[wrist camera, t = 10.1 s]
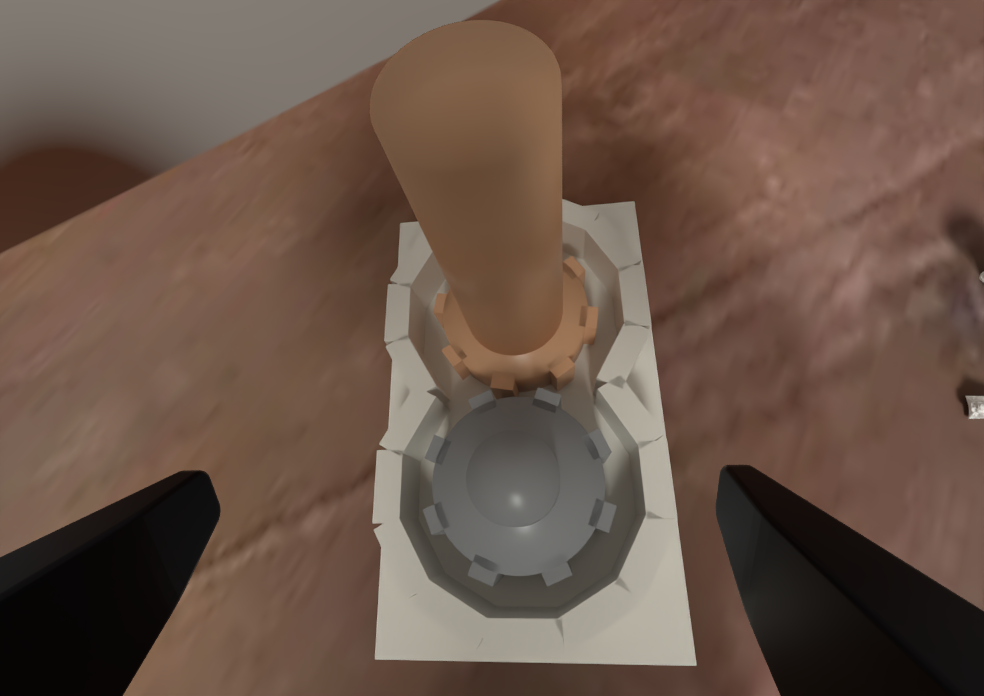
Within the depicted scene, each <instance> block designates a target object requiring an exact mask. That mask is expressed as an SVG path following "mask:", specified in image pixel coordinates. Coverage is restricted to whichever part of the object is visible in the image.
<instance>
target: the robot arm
mask: <svg viewBox="0 0 984 696" xmlns="http://www.w3.org/2000/svg"><path fill="white" fill-rule="evenodd" d="M716 516H717V520H718V524H719V527H720V531H721V534H722V537H723V541H724V544H725V547H726V551H727V554H728V557H729V561H730V564H731V567H732V570H733V574H734V577H735V580H736V584H737V587H738V590H739V594H740V597H741V600H742V603H743V606H744V609H745V612H746V614H747V617H748V619H749V622H750V625H751V627H752V629H753V632H754V634H755V636H756V639H757V641H758V644H759V646H760V648H761V651H762V653H763V655H764V658H765V660H766V662H767V665H768V667H769V669H770V672H771V674H772V677H773V679H774V681H775V684H776V686H777V688H778V691H779V693H780V695H781V696H984V611H982V610H981V609H979V608H978V607H976V606H974V605H973V604H971V603H970V602H968V601H966V600H965V599H963V598H962V597H960V596H958V595H957V594H955V593H954V592H952V591H950V590H949V589H947V588H946V587H944V586H942V585H941V584H939V583H938V582H936V581H934V580H933V579H931V578H930V577H928V576H927V575H925V574H923V573H922V572H920V571H919V570H917V569H915V568H914V567H912V566H911V565H909V564H907V563H906V562H904V561H903V560H901V559H899V558H898V557H896V556H895V555H893V554H891V553H890V552H888V551H887V550H885V549H883V548H882V547H880V546H879V545H877V544H875V543H874V542H872V541H871V540H869V539H867V538H866V537H864V536H863V535H861V534H859V533H858V532H856V531H855V530H853V529H851V528H850V527H848V526H847V525H845V524H843V523H842V522H840V521H839V520H837V519H835V518H834V517H832V516H831V515H829V514H827V513H826V512H824V511H823V510H821V509H819V508H818V507H816V506H815V505H813V504H811V503H810V502H808V501H807V500H805V499H803V498H802V497H800V496H799V495H797V494H795V493H794V492H792V491H791V490H789V489H787V488H786V487H784V486H783V485H781V484H779V483H778V482H776V481H775V480H773V479H771V478H770V477H768V476H767V475H765V474H763V473H762V472H760V471H759V470H757V469H755V468H754V467H752V466H750V465H725V466H724V467H723V468H722V469H721V472H720V477H719V485H718V492H717V500H716ZM219 517H220V504H219V501H218V498H217V496H216V493H215V490H214V487H213V485H212V482H211V479H210V477H209V475H208V474H207V473H206V472H204V471H201V470H191V471H180V472H177V473H175V474H173V475H171V476H169V477H167V478H165V479H163V480H161V481H159V482H157V483H155V484H152V485H150V486H148V487H146V488H144V489H142V490H140V491H138V492H136V493H134V494H132V495H129V496H127V497H125V498H123V499H121V500H119V501H117V502H115V503H113V504H111V505H109V506H107V507H104V508H102V509H100V510H98V511H96V512H94V513H92V514H90V515H88V516H86V517H84V518H81V519H79V520H77V521H75V522H73V523H71V524H69V525H67V526H65V527H63V528H61V529H59V530H56V531H54V532H52V533H50V534H48V535H46V536H44V537H42V538H40V539H38V540H36V541H33V542H31V543H29V544H27V545H25V546H23V547H21V548H19V549H17V550H15V551H13V552H11V553H8V554H6V555H4V556H2V557H0V696H123V694H124V693H125V691H126V689H127V688H128V686H129V684H130V683H131V681H132V679H133V678H134V676H135V674H136V673H137V671H138V669H139V668H140V666H141V664H142V663H143V661H144V659H145V658H146V656H147V654H148V653H149V651H150V649H151V648H152V646H153V644H154V643H155V641H156V639H157V638H158V636H159V634H160V632H161V631H162V629H163V627H164V626H165V624H166V622H167V621H168V619H169V617H170V616H171V614H172V612H173V611H174V609H175V607H176V605H177V604H178V602H179V600H180V598H181V596H182V594H183V592H184V590H185V588H186V586H187V584H188V582H189V580H190V578H191V576H192V574H193V572H194V570H195V568H196V566H197V564H198V562H199V560H200V558H201V555H202V553H203V551H204V549H205V547H206V545H207V543H208V541H209V539H210V537H211V535H212V533H213V531H214V529H215V526H216V524H217V522H218V520H219Z"/></svg>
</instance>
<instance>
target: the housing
mask: <svg viewBox="0 0 984 696" xmlns="http://www.w3.org/2000/svg"><path fill="white" fill-rule="evenodd" d="M562 236H563V261H565V260H566V259H568V258H569V257H570V256H573V257H574V258H575V259H576V261H577V262H578V263H579V264H580V265H581V266H582V267H583V268H584V269H585V282H584V290H585V294H586V298H587V305H588V306H591V307H599V308H598V318H597V328H596V334H595V340H594V345H590V344H583V347H582V350H581V352H580V354H579V357H578V359H577V360H576V362H575V363H574V364H575V374H574V379H573V380H572V381H571V382H570V383H568V384H567V385H566V386H564V387H563V388H562V389H560V390H559V391H558V392H557V390H556V389H555V388H554V387H553V385H552V384H550V385H548V386H546V387H543V388H539V387H538V388H537V390H533V391H528V392H519V395H518V397H507V398H501V399H496V397H495V395H494V394H493V392H492V390H491V388H490V387H489V386H487V385H485V384H483V383H481V382H480V381H478V380H477V379H475V378H474V377H473V376H472V375H469V376H468V377H467V378H465V379H464V380H462V378H461V377H460V376H459V374H458V373H457V372H456V370H455V369H454V368H453V366H452V365H451V364H450V362H449V361H448V359H447V358H446V356H445V355H444V354H443V352H442V351H441V350H442V349H444V348H445V347H446V346H448V345H449V344H450V343H449V341H448V339H447V336H446V333H445V330H444V329H443V328H442V326H441V324H440V323H439V321H438V319H437V318H436V316H435V315H434V313H433V311H434V306H435V301H436V297H437V293H442V294H447V293H448V291H449V288H450V287H449V285H448V283H447V281H446V279H445V277H444V275H443V272H442V270H441V268H440V266H439V264H438V262H437V260H436V258H435V256H434V254H433V252H432V250H431V247H430V245H429V243H428V241H427V239H426V237H425V235H424V233H423V231H422V229H421V227H420V225H419V222H418V221H417V222H406V223H400V237H399V255H398V268H397V269H396V271H395V272H394V274H393V275H392V277H391V278H390V281H391V282H392V284H388V291H387V306H386V321H385V337H384V342H385V343H386V344H387V346H385V347H386V349H387V351H388V352H389V354H390V356H391V358H392V374H391V391H390V408H389V425H388V430H387V432H386V433H385V435H384V437H383V438H382V440H381V442H380V443H379V445H381V446H383V447H384V448H386V449H387V450H377V459H376V474H375V490H374V505H373V520H372V523H383V524H382V525H380V526H379V527H377V528H376V529H374V532H375V534H376V536H377V539H378V541H379V543H380V545H381V562H380V579H379V596H378V613H377V630H376V647H375V659H378V660H429V661H479V662H529V663H580V664H630V665H681V666H697V665H696V657H695V650H694V642H693V635H692V627H691V620H690V612H689V605H688V597H687V590H686V582H685V575H684V567H683V560H682V553H681V545H680V538H679V530H678V523H677V511H676V503H675V496H674V488H673V481H672V473H671V466H670V458H669V451H668V444H667V440H666V433H665V426H664V418H663V411H662V403H661V396H660V388H659V381H658V373H657V366H656V358H655V351H654V343H653V336H652V328H651V325H652V324H651V317H650V310H649V302H648V295H647V287H646V280H645V272H644V265H643V261H642V254H641V246H640V239H639V231H638V224H637V216H636V209H635V201H631V202H621V203H610V204H599V205H588V206H581V205H578V204H575V203H572V202H570V201H567V200H564V199H562Z"/></svg>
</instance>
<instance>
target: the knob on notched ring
mask: <svg viewBox="0 0 984 696" xmlns="http://www.w3.org/2000/svg"><path fill="white" fill-rule="evenodd" d="M369 110H370V119H371V122H372V126H373V129H374V131H375V133H376V135H377V137H378V139H379V141H380V143H381V145H382V147H383V149H384V152H385V154H386V156H387V158H388V160H389V162H390V164H391V166H392V168H393V170H394V172H395V174H396V177H397V179H398V181H399V183H400V185H401V187H402V189H403V191H404V193H405V195H406V197H407V199H408V202H409V204H410V206H411V208H412V210H413V212H414V214H415V216H416V218H417V220H418V222H419V225H420V227H421V229H422V231H423V233H424V235H425V237H426V239H427V241H428V243H429V245H430V247H431V250H432V252H433V254H434V256H435V258H436V260H437V262H438V264H439V266H440V268H441V270H442V272H443V275H444V277H445V279H446V281H447V283H448V285H449V287H450V288H449V291H448V293H447V294H442V293H437V297H436V301H435V306H434V311H433V313H434V315H435V316H436V318H437V319H438V321H439V323H440V324H441V326H442V328H443V329H444V330H445V333H446V336H447V339H448V341H449V343H450V344H449V345H448V346H446V347H445V348H444V349H442V350H441V351H442V352H443V354H444V355H445V356H446V358H447V359H448V361H449V362H450V364H451V365H452V366H453V368H454V369H455V370H456V372H457V373H458V374H459V376H460V377H461V378H462V380H464V379H465V378H467V377H468V376H469V375H472V376H473V377H474V378H475V379H477V380H478V381H480V382H481V383H483V384H485V385H487V386H489V387H490V388H491V390H492V392H493V394H494V395H495V397H496V399H501V398H507V397H518V395H519V392H528V391H533V390H537V388H538V387H539V388H543V387H546V386H548V385H550V384H552V385H553V387H554V388H555V389H556V390H557V392H558V391H559V390H560V389H562V388H563V387H564V386H566V385H567V384H568V383H570V382H571V381H572V380H573V379H574V374H575V364H574V363H575V362H576V360H577V359H578V357H579V354H580V352H581V350H582V347H583V344H590V345H594V340H595V334H596V328H597V318H598V308H599V307H591V306H588V305H587V298H586V294H585V290H584V282H585V269H584V268H583V267H582V266H581V265H580V264H579V263H578V262H577V261H576V259H575V258H574V257H573V256H570V257H569V258H568V259H566V260H565V261H563V236H562V79H561V71H560V68H559V64H558V62H557V60H556V58H555V56H554V54H553V52H552V51H551V50H550V48H549V47H548V46H547V45H546V44H545V43H544V42H543V41H542V40H541V39H540V38H538V37H537V36H536V35H534V34H533V33H531V32H529V31H527V30H526V29H524V28H521V27H519V26H516V25H513V24H509V23H505V22H500V21H493V20H470V21H462V22H456V23H452V24H448V25H444V26H441V27H439V28H436V29H433V30H431V31H429V32H427V33H425V34H422V35H421V36H419V37H417V38H415V39H414V40H412V41H411V42H409V43H408V44H407V45H405V46H404V47H403V48H401V49H400V50H399V51H398V52H397V53H396V54H394V56H393V57H392V58H391V59H390V60H389V61H388V62H387V63H386V65H385V66H384V68H383V69H382V70H381V72H380V74H379V75H378V77H377V79H376V81H375V84H374V86H373V89H372V93H371V97H370V108H369Z"/></svg>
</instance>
